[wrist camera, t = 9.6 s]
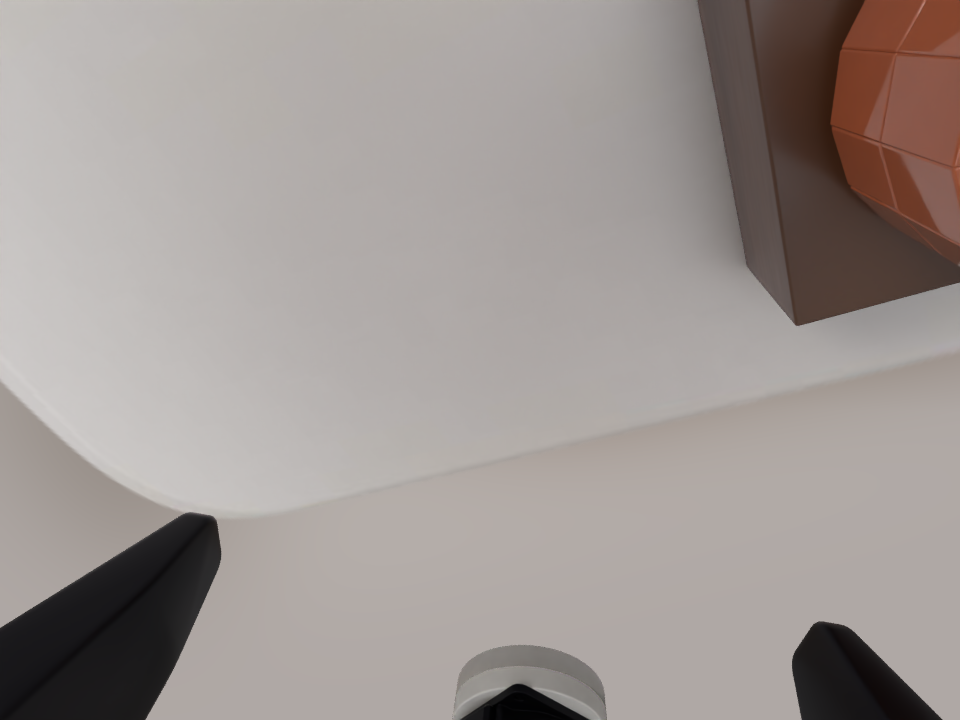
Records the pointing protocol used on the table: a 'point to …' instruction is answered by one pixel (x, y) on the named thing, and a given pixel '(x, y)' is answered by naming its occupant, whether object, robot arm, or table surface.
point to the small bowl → (904, 117)
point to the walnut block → (802, 163)
